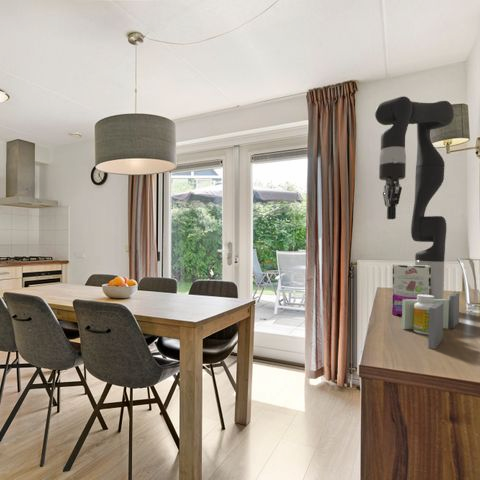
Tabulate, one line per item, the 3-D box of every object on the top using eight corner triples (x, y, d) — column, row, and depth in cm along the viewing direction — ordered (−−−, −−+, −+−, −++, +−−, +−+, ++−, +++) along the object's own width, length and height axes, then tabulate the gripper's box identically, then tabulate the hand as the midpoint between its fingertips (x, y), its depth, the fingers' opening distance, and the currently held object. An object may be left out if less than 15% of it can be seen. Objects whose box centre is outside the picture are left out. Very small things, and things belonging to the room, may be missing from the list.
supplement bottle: (425, 335, 89) (426, 297, 89) (408, 330, 94) (409, 294, 94) (441, 334, 91) (442, 296, 91) (424, 329, 96) (425, 293, 96)
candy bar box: (428, 315, 114) (429, 265, 114) (430, 318, 110) (431, 266, 110) (391, 312, 119) (392, 263, 119) (391, 315, 114) (392, 264, 114)
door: (444, 327, 98) (445, 299, 98) (448, 328, 97) (448, 300, 97) (401, 328, 96) (402, 299, 96) (404, 329, 95) (405, 300, 95)
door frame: (453, 321, 106) (454, 291, 106) (459, 322, 105) (460, 292, 105) (427, 347, 79) (428, 307, 79) (435, 349, 78) (436, 308, 78)
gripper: (375, 168, 117) (374, 220, 117) (384, 159, 104) (383, 217, 104) (399, 167, 116) (397, 220, 116) (411, 158, 103) (410, 218, 103)
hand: (391, 219), depth 110 cm, fingers closed
